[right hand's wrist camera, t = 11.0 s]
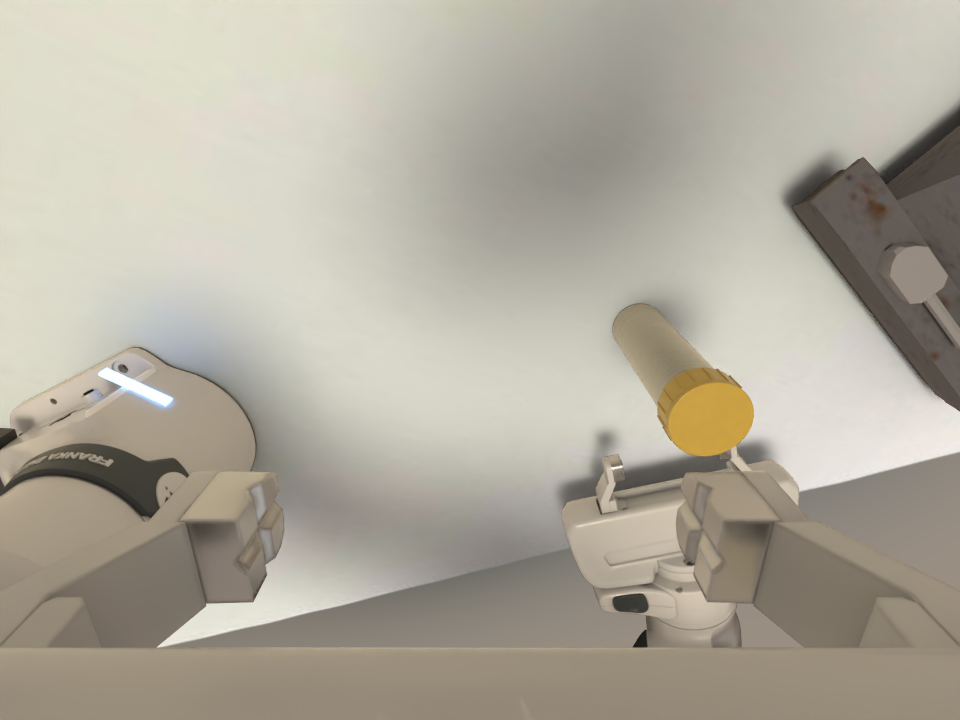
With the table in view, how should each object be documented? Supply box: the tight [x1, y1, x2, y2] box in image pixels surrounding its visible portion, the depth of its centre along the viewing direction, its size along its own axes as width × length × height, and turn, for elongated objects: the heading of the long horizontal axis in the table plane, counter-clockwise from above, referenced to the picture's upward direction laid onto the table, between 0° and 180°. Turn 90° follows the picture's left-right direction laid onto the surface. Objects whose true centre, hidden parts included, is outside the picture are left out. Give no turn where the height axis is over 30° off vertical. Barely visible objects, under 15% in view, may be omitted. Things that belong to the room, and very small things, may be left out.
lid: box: [657, 367, 754, 456], centre depth 32 cm, size 5×5×2 cm
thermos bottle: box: [613, 304, 712, 405], centre depth 39 cm, size 4×4×16 cm
